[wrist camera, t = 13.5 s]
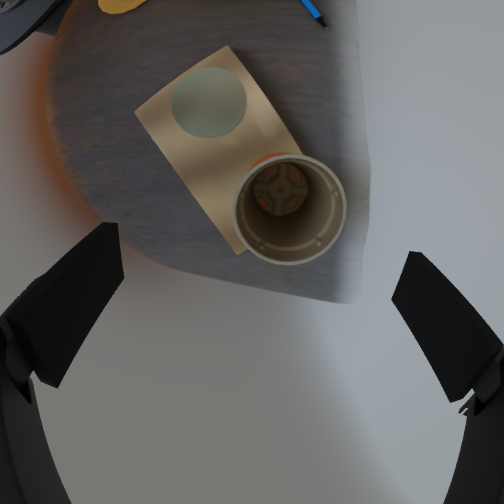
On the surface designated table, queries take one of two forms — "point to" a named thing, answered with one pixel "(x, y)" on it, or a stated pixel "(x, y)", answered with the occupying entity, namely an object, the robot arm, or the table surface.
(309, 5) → the pen
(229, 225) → the board
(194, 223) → the table surface
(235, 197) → the flower pot
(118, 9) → the cup
